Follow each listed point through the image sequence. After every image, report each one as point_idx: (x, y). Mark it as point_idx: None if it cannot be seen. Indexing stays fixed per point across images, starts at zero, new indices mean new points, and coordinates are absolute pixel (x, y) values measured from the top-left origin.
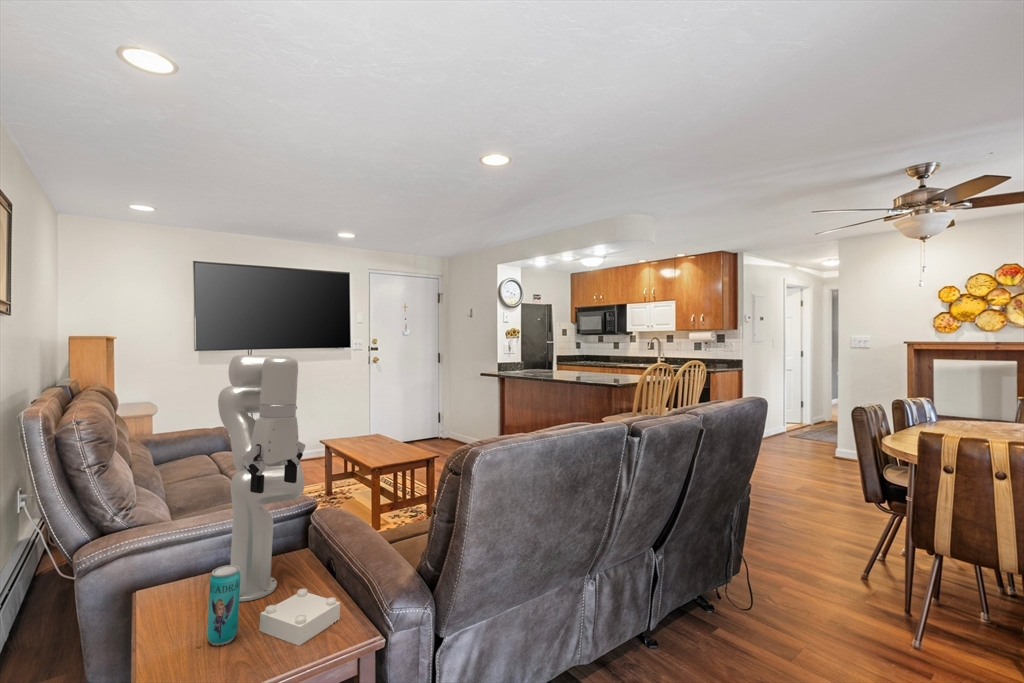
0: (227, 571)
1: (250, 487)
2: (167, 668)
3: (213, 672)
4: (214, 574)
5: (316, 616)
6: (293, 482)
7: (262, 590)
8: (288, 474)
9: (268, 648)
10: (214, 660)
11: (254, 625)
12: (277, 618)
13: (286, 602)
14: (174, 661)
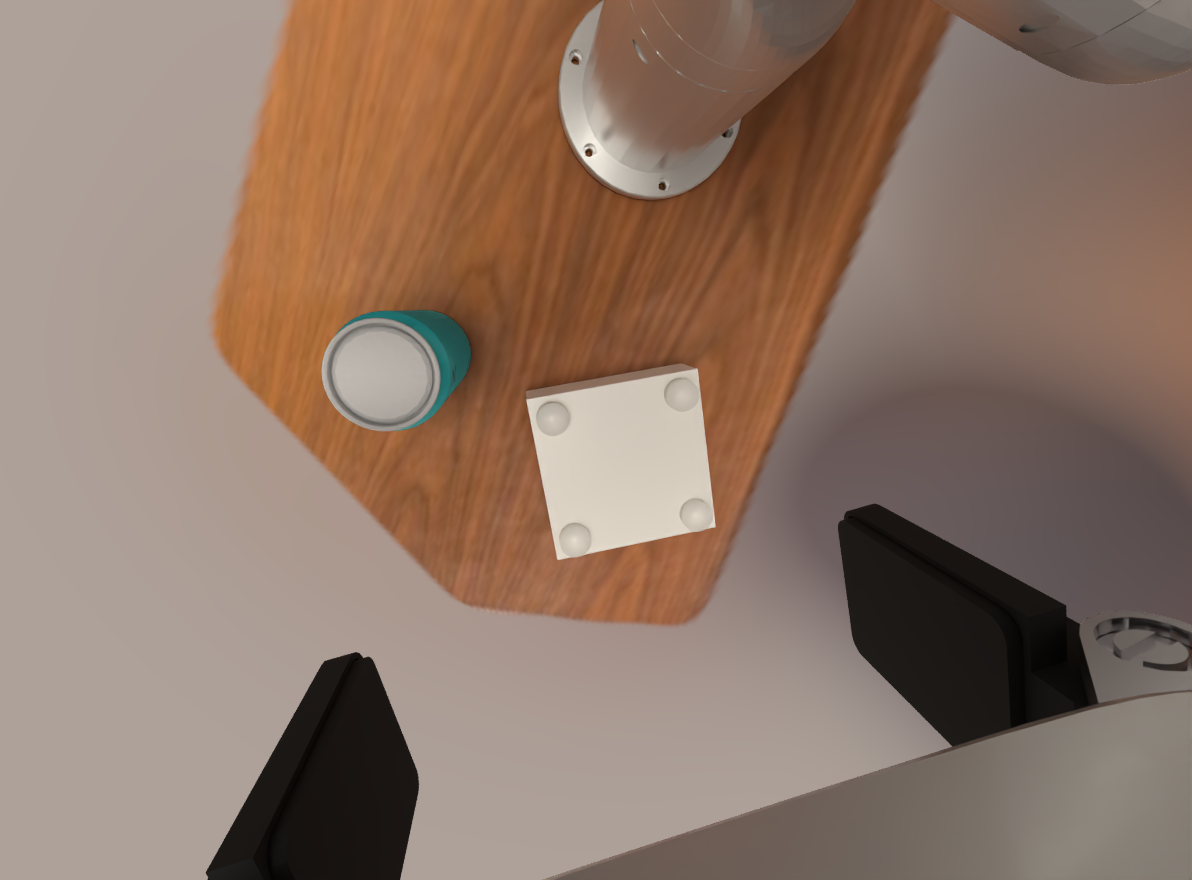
0: (379, 396)
1: (309, 691)
2: (268, 372)
3: (350, 482)
4: (323, 382)
5: (621, 544)
6: (857, 644)
7: (659, 174)
8: (905, 627)
9: (497, 488)
10: (374, 433)
11: (534, 348)
12: (542, 470)
13: (617, 400)
14: (294, 353)
